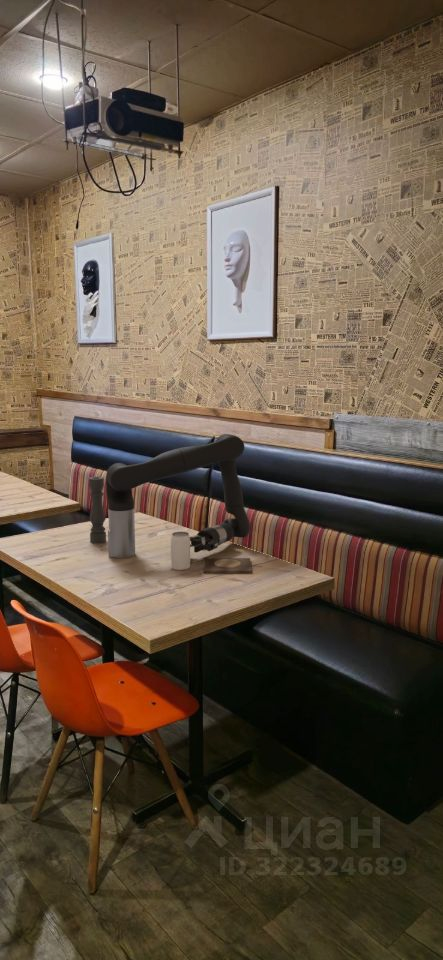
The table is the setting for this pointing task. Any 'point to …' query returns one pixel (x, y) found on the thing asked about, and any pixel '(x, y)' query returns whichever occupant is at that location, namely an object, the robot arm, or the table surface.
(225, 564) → the rest board
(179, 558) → the can
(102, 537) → the candle holder
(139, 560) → the table surface
